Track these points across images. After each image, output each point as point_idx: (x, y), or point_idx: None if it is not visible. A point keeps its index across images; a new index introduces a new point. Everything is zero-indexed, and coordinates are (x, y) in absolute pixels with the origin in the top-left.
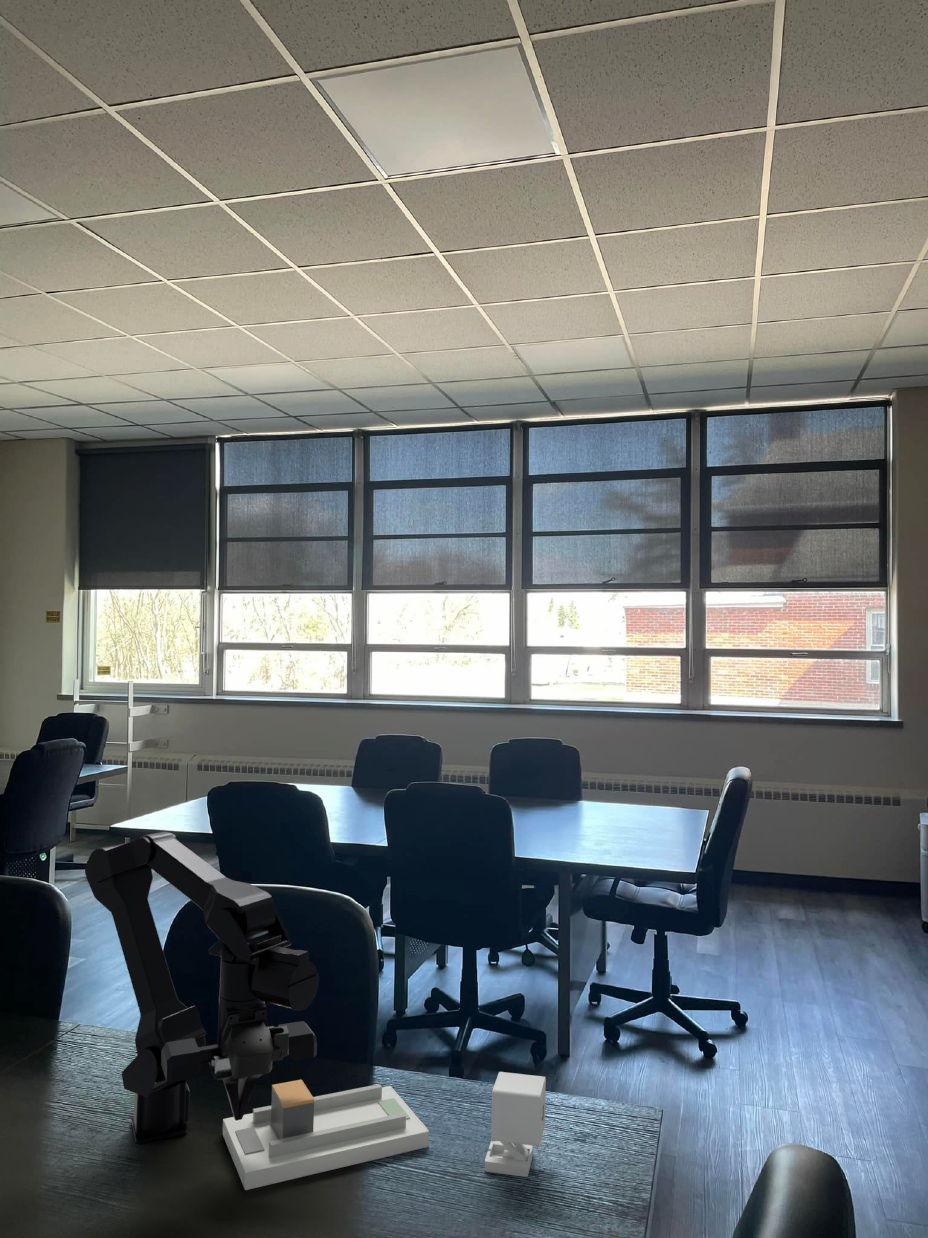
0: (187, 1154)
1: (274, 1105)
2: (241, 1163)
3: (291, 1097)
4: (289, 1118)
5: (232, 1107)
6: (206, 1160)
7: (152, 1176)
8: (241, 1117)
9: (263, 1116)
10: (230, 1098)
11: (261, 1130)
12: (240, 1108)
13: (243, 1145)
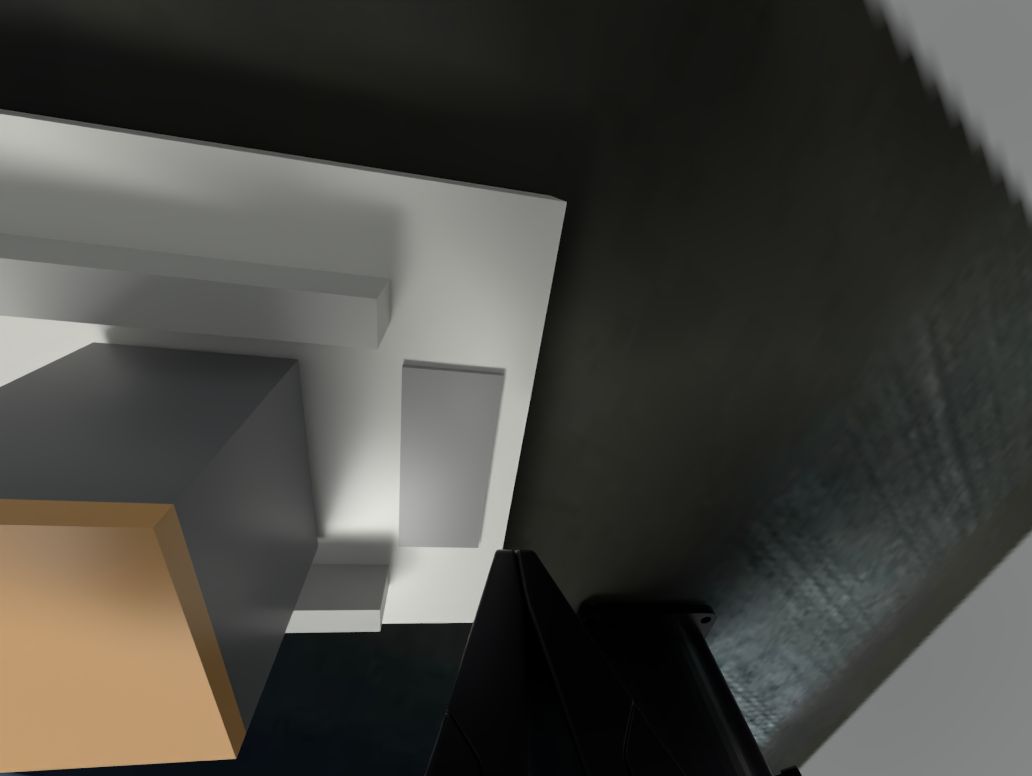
0: (622, 522)
1: (268, 609)
2: (546, 311)
3: (57, 612)
4: (168, 437)
5: (583, 626)
6: (587, 472)
7: (764, 460)
8: (501, 559)
9: (342, 587)
10: (632, 703)
11: (371, 518)
12: (520, 610)
13: (486, 442)
